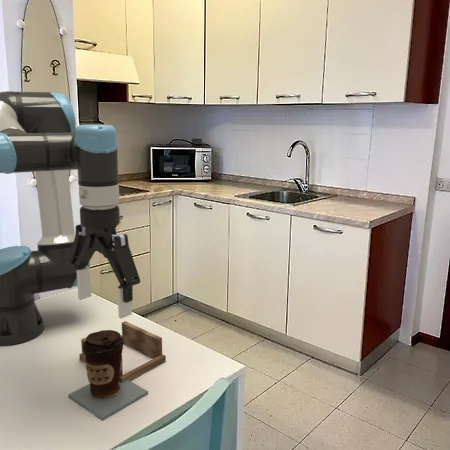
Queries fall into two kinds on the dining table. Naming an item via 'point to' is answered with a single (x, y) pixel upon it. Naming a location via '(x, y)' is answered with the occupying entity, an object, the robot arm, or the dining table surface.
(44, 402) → the dining table surface
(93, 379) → the coffee cup
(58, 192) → the robot arm
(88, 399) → the coaster
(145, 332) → the rack
